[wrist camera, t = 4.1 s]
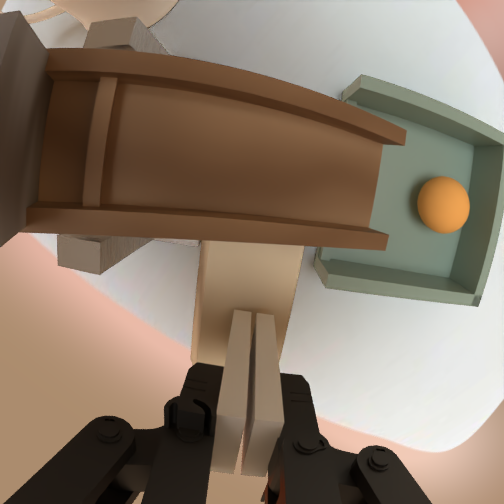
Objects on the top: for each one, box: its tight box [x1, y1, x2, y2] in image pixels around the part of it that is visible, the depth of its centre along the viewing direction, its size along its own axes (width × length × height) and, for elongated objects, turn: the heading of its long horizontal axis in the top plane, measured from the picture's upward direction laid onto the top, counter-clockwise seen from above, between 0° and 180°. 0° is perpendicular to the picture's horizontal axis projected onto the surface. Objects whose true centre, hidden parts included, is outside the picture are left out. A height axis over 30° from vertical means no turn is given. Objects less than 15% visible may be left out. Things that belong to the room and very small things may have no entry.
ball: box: [417, 176, 470, 234], centre depth 16 cm, size 4×4×4 cm
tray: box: [314, 74, 504, 307], centre depth 17 cm, size 12×11×4 cm
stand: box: [57, 17, 200, 275], centre depth 14 cm, size 11×6×10 cm, turn 171°
